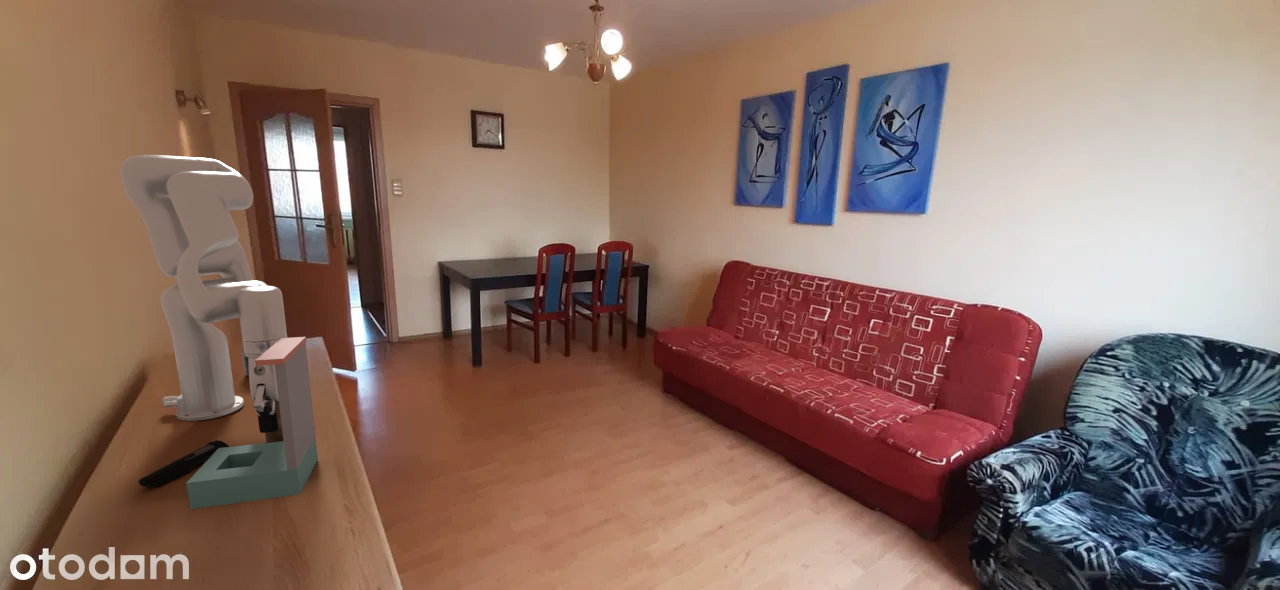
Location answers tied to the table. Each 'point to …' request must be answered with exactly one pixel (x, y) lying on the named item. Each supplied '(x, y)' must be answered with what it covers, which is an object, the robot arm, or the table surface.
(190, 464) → the electric trimmer
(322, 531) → the table surface
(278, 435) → the walnut peg
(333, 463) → the table surface
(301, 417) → the socket stand
